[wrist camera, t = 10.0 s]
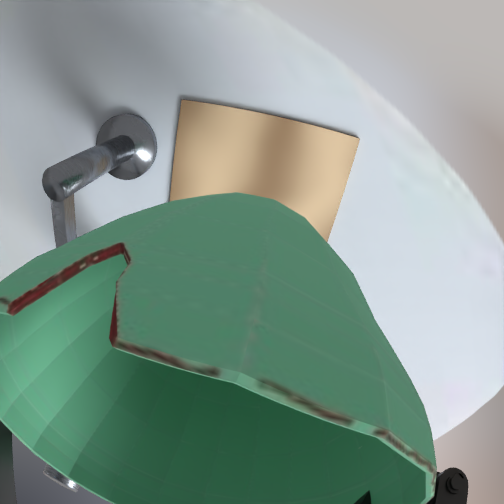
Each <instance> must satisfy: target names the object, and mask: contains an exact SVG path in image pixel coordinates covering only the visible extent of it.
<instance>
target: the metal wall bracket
mask: <svg viewBox="0 0 504 504" xmlns="http://www.w3.org/2000/svg"><path fill="white" fill-rule="evenodd" d="M156 153H157V142H156V137H155V134H154V132H153V130H152V128H151V127H150V125H149V124H148V123H147V122H146V121H145V120H144V119H142V118H141V117H139V116H136V115H133V114H122V115H118V116H115V117H112V118H111V119H109V120H108V121H106V122H105V123H104V125H103V126H102V127H101V129H100V131H99V133H98V136H97V141H96V146H94V147H91V148H89V149H87V150H85V151H82V152H80V153H78V154H76V155H74V156H72V157H70V158H68V159H66V160H64V161H61V162H59V163H57V164H55V165H53V166H51V167H50V168H48V169H46V170H45V172H44V174H43V178H42V184H43V188H44V191H45V193H46V194H47V196H48V197H49V198H50V199H51V207H52V217H53V226H54V234H55V242H56V248H58V247H60V246H62V245H64V244H66V243H68V242H70V241H72V240H74V239H76V238H77V234H76V222H75V208H74V193H75V192H77V191H78V190H80V189H81V188H83V187H84V186H86V185H88V184H89V183H91V182H92V181H94V180H96V179H97V178H99V177H100V176H102V175H104V174H105V173H107V172H108V173H109V174H111V175H112V176H114V177H116V178H119V179H123V180H130V179H135V178H137V177H139V176H141V175H142V174H144V173H145V172H146V171H147V170H148V169H149V168H150V167H151V166H152V164H153V162H154V160H155V157H156ZM43 473H44V474H45V475H46V476H47V477H49V478H51V479H52V480H53V481H55V482H57V483H58V484H60V485H62V486H64V487H66V488H68V489H70V490H72V491H74V492H77V490H78V488H79V486H80V485H78V484H76V483H75V482H73V481H72V480H70V479H68V478H67V477H65V476H64V475H63V474H61V473H60V472H58V471H57V470H56V469H54V468H53V467H52V466H50V465H49V464H48V463H47V465H46V467H45V469H44V471H43Z"/></svg>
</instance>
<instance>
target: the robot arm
mask: <svg viewBox="0 0 504 504" xmlns="http://www.w3.org/2000/svg"><path fill="white" fill-rule="evenodd" d="M361 447H362V446H361ZM467 495H468V480H467V477H466V475H465V474H464V473H463V472H462V471H461V470H459V469H457V468H449V469H447V470H445V471H443V472H442V473H440V472H436V483H435V493H434V497H433V498H432V499H431V500H430V501H429V502H427V503H426V504H466V503H467ZM0 504H17V500H16V492H15V483H14V471H13V456H12V432H11V431H10V430H9V429H8V428H7V427H6V426H5V425H4V424H3V423H2V421H1V420H0ZM354 504H371V495H370V490H369V491H367V492H366V493H365V494H364V495H363V496H362V497H361V498H359V499H358V500H357V501H356V502H355V503H354Z"/></svg>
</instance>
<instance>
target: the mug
mask: <svg viewBox="0 0 504 504" xmlns="http://www.w3.org/2000/svg"><path fill="white" fill-rule="evenodd" d="M0 420H1V421H2V423H3V424H4V425H5V426H6V427H7V428H8V429H9V430H10V431H11V432H12V433H13V434H14V435H15V436H16V437H17V438H18V439H19V440H20V441H21V442H22V443H24V444H25V445H26V446H27V447H28V448H29V449H30V450H31V451H32V452H33V453H34V454H35V455H36V456H38V457H40V458H41V459H42V460H44V461H45V462H46V463H48V464H49V465H50V466H52V467H53V468H54V469H56V470H57V471H58V472H60V473H61V474H63V475H64V476H65V477H67V478H68V479H70V480H72V481H73V482H75V483H76V484H78V485H80V486H81V487H83V488H85V489H87V490H88V491H90V492H92V493H93V494H95V495H97V496H99V497H101V498H103V499H104V500H106V501H108V502H110V503H112V504H354V503H355V502H356V501H357V500H358V499H359V498H361V497H362V496H363V495H364V494H365V493H366V492H367V491H369V490H370V495H371V504H426V503H427V502H429V501H430V500H431V499H432V498H433V497H434V493H435V483H436V472H437V466H436V460H435V459H436V458H435V451H434V445H433V438H432V432H431V428H430V424H429V421H428V418H427V415H426V411H425V408H424V405H423V403H422V401H421V399H420V397H419V395H418V393H417V391H416V389H415V387H414V385H413V383H412V381H411V379H410V377H409V376H408V374H407V372H406V371H405V369H404V367H403V365H402V364H401V362H400V360H399V359H398V357H397V355H396V354H395V352H394V350H393V349H392V347H391V345H390V344H389V342H388V340H387V339H386V337H385V335H384V334H383V332H382V330H381V329H380V327H379V326H378V324H377V322H376V321H375V319H374V317H373V314H372V312H371V310H370V308H369V306H368V304H367V302H366V299H365V297H364V295H363V293H362V291H361V289H360V287H359V285H358V283H357V281H356V279H355V277H354V274H353V273H352V272H351V270H350V269H349V268H348V267H347V266H346V264H345V263H344V262H343V261H342V260H341V258H340V257H339V256H338V255H337V254H336V252H335V251H334V250H333V249H332V248H331V247H330V245H329V244H328V243H327V242H326V241H325V240H324V238H323V237H322V236H321V235H320V234H319V233H318V232H317V230H316V229H315V228H314V227H313V226H312V225H311V224H310V223H309V222H308V220H307V219H306V218H305V217H303V216H302V215H300V214H298V213H297V212H295V211H293V210H291V209H290V208H288V207H286V206H285V205H283V204H281V203H280V202H278V201H276V200H274V199H270V198H266V197H261V196H256V195H251V194H245V193H239V192H234V193H223V194H212V195H205V196H198V197H192V198H186V199H180V200H174V201H170V202H167V203H163V204H160V205H157V206H154V207H151V208H148V209H145V210H142V211H139V212H136V213H133V214H130V215H127V216H124V217H121V218H119V219H117V220H114V221H112V222H110V223H108V224H106V225H104V226H101V227H99V228H97V229H95V230H93V231H91V232H89V233H87V234H84V235H82V236H80V237H78V238H76V239H74V240H72V241H70V242H68V243H66V244H64V245H62V246H60V247H58V248H56V249H53V250H51V251H49V252H46V253H44V254H42V255H40V256H37V257H36V258H34V259H32V260H31V261H29V262H28V263H26V264H25V265H23V266H22V267H20V268H19V269H17V270H16V271H14V272H13V273H12V274H10V275H9V276H7V277H6V278H5V279H3V280H2V281H1V282H0ZM361 446H362V447H361Z"/></svg>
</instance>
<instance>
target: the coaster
mask: <svg viewBox="0 0 504 504" xmlns="http://www.w3.org/2000/svg"><path fill="white" fill-rule="evenodd" d="M359 140H360V139H359V138H357V137H354V136H350V135H347V134H344V133H340V132H337V131H333V130H330V129H326V128H322V127H319V126H315V125H311V124H307V123H303V122H299V121H295V120H291V119H287V118H282V117H278V116H274V115H269V114H264V113H260V112H255V111H250V110H245V109H239V108H234V107H228V106H222V105H217V104H210V103H204V102H197V101H190V100H182V101H181V108H180V115H179V122H178V129H177V137H176V145H175V153H174V162H173V172H172V181H171V192H170V201H174V200H180V199H186V198H192V197H198V196H205V195H212V194H223V193H234V192H239V193H245V194H251V195H256V196H261V197H266V198H270V199H274V200H276V201H278V202H280V203H281V204H283V205H285V206H286V207H288V208H290V209H291V210H293V211H295V212H297V213H298V214H300V215H302V216H303V217H305V218H306V219H307V220H308V222H309V223H310V224H311V225H312V226H313V227H314V228H315V229H316V230H317V232H318V233H319V234H320V235H321V236H322V237H323V238H324V240H325V241H326V242H327V241H328V238H329V235H330V232H331V229H332V226H333V223H334V220H335V217H336V214H337V211H338V208H339V205H340V202H341V199H342V196H343V193H344V190H345V187H346V183H347V180H348V177H349V174H350V171H351V167H352V164H353V161H354V157H355V154H356V151H357V147H358V144H359Z"/></svg>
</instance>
